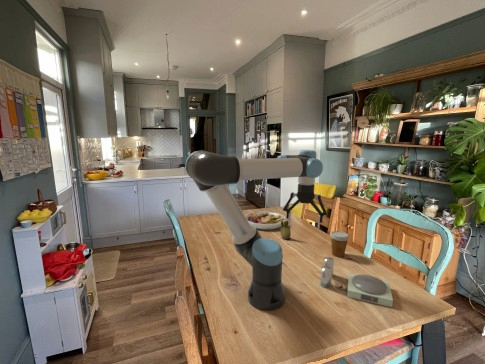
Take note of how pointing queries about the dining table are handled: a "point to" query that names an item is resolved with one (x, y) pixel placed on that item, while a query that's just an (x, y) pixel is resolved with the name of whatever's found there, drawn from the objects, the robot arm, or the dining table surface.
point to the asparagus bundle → (285, 230)
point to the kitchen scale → (369, 289)
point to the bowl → (265, 220)
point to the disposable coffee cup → (339, 243)
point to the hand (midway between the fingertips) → (303, 227)
